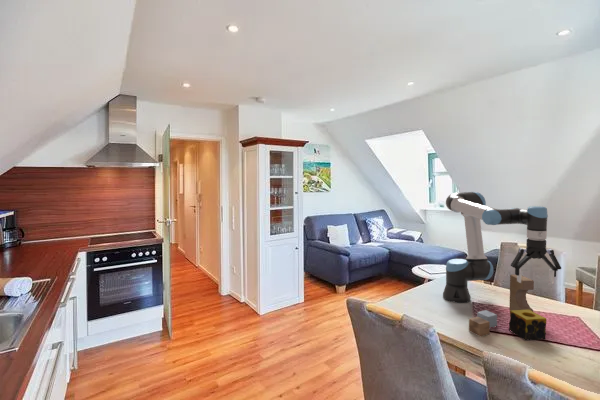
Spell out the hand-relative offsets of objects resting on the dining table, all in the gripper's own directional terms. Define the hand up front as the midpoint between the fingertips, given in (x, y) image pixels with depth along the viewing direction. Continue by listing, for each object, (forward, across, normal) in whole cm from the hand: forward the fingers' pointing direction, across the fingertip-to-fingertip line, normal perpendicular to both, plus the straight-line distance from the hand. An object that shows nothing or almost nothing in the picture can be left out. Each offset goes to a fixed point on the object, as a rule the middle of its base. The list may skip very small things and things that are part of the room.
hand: (534, 282), depth 150 cm
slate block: (+22, -21, -1) cm, 31 cm away
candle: (+23, -6, -8) cm, 25 cm away
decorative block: (+23, +1, +16) cm, 28 cm away
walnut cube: (+22, -27, -9) cm, 36 cm away
